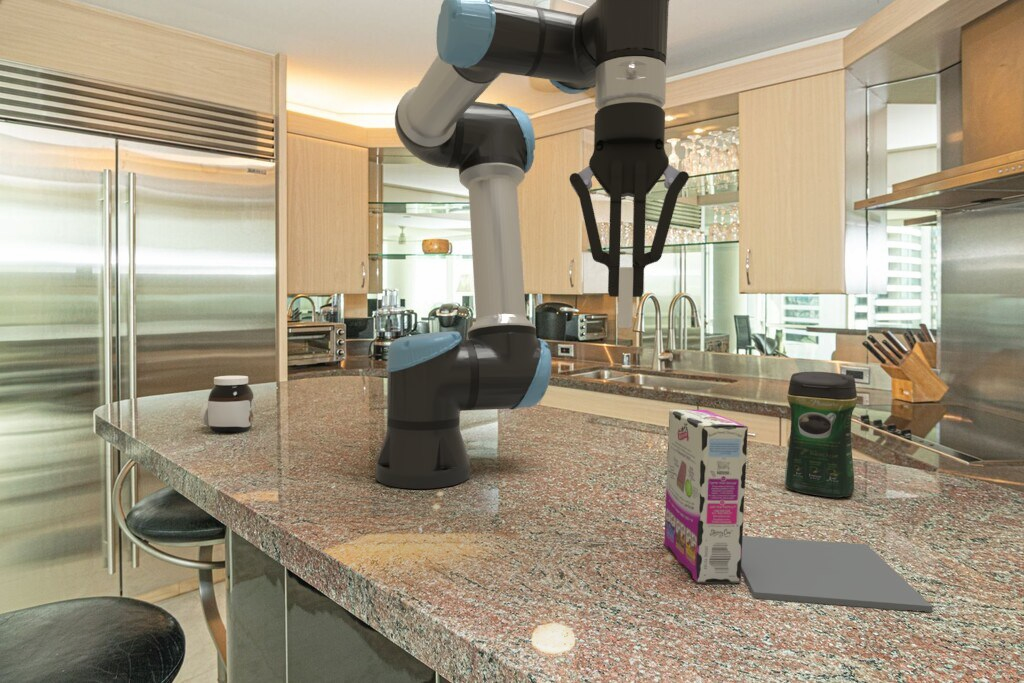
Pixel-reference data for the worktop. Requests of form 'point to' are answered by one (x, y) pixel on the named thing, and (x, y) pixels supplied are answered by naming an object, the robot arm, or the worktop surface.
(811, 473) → the coffee jar
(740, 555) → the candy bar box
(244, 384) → the spread jar
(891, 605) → the mat
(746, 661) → the worktop surface
